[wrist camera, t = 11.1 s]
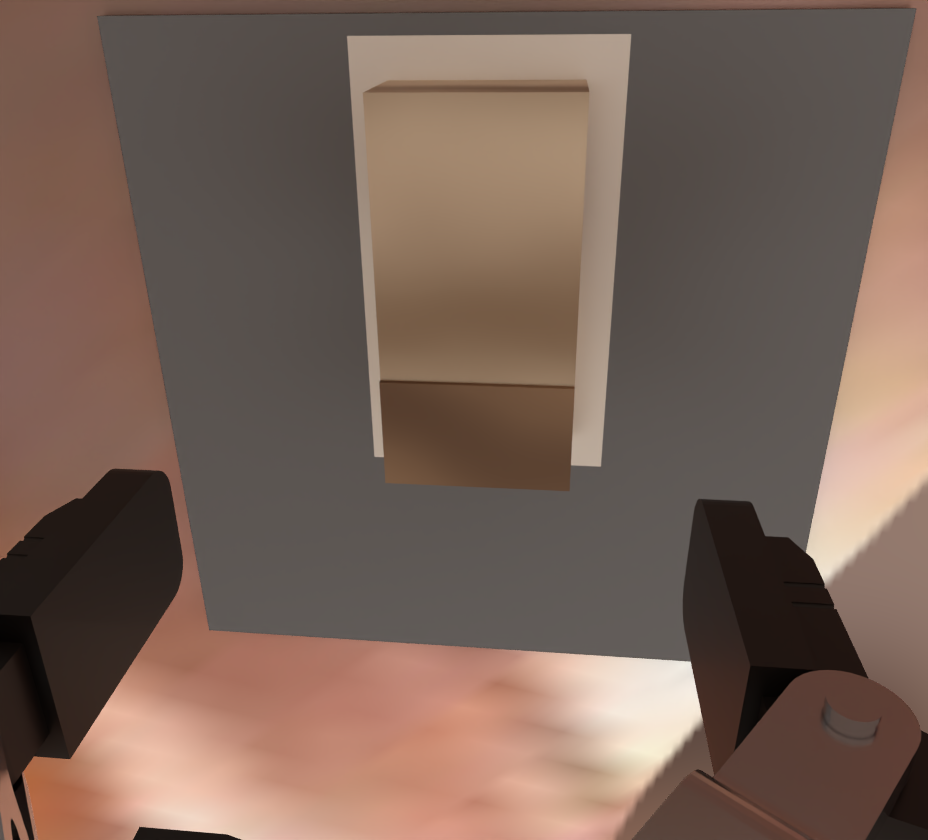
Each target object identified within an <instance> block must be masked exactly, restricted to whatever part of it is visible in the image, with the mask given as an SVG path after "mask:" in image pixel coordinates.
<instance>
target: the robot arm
mask: <svg viewBox="0 0 928 840" xmlns="http://www.w3.org/2000/svg"><path fill="white" fill-rule="evenodd" d="M182 570H183V556H182V550H181V544H180V538H179V532H178V526H177V521H176V515H175V509H174V503H173V498H172V492H171V486H170V482H169V479H168V477H167V476H166V474H165V473H164V472H162V471H152V470H132V469H112V470H110V471H109V472H107V473H106V474H105V475H104V477H103V478H102V479H101V480H100V481H99V482H98V483H97V484H96V485H95V486H94V487H93V488H92V489H91V490H90V491H89V492H88V493H87V494H86V495H85V496H84V497H83V498H82V499H78V498H76V499H74V500H72V501H71V502H69V503H67V504H65V505H63V506H62V507H60V508H58V509H56V510H55V511H53V512H51V513H49V514H47V515H46V516H44V517H43V518H42V519H41V520H40V521H39V522H38V523H37V524H36V525H35V526H34V527H33V528H32V529H31V530H30V531H29V532H28V533H27V534H26V535H25V536H24V541H19V542H18V543H17V544H16V545H15V546H14V547H13V548H12V549H11V550H10V551H9V552H8V553H7V558H2V559H1V560H0V840H38V836H37V831H36V826H35V821H34V816H33V811H32V805H31V800H30V795H29V790H28V786H27V783H26V779H25V776H24V773H23V771H24V770H25V768H26V767H27V765H28V764H29V762H30V761H31V760H32V758H33V757H34V756H37V757H49V758H62V759H70V758H71V757H72V755H73V754H74V752H75V751H76V749H77V748H78V746H79V745H80V743H81V741H82V740H83V738H84V737H85V735H86V734H87V732H88V731H89V729H90V727H91V726H92V724H93V723H94V721H95V720H96V718H97V717H98V715H99V714H100V712H101V710H102V709H103V707H104V706H105V704H106V703H107V701H108V700H109V698H110V696H111V695H112V693H113V692H114V690H115V689H116V687H117V686H118V684H119V682H120V681H121V679H122V678H123V676H124V675H125V673H126V672H127V670H128V669H129V667H130V665H131V664H132V662H133V661H134V659H135V658H136V656H137V655H138V653H139V651H140V650H141V648H142V647H143V645H144V644H145V642H146V641H147V639H148V637H149V636H150V634H151V633H152V631H153V630H154V628H155V627H156V625H157V624H158V622H159V620H160V619H161V617H162V616H163V614H164V613H165V611H166V610H167V608H168V606H169V605H170V603H171V602H172V600H173V599H174V597H175V595H176V593H177V591H178V588H179V585H180V582H181V577H182ZM824 585H825V584H824V581H823V579H822V577H821V575H820V573H819V571H818V569H817V566H816V564H815V562H814V560H813V559H812V558H811V557H810V556H809V555H808V554H807V553H806V552H804V551H803V550H802V549H801V548H800V547H799V546H798V545H796V544H795V543H794V542H793V541H792V540H791V539H790V538H789V537H774V536H765V534H764V531H763V529H762V526H761V524H760V521H759V519H758V516H757V514H756V511H755V509H754V506H753V504H752V503H751V502H750V501H735V500H714V499H698V500H697V502H696V505H695V509H694V514H693V521H692V528H691V536H690V543H689V550H688V557H687V565H686V572H685V579H684V587H683V623H684V630H685V635H686V640H687V645H688V650H689V655H690V660H691V664H692V669H693V674H694V679H695V684H696V689H697V694H698V699H699V703H700V708H701V713H702V718H703V723H704V728H705V733H706V737H707V742H708V747H709V752H710V757H711V762H712V767H713V771H714V776H713V777H711V776H709V775H708V774H706V773H704V772H703V771H701V770H695V771H693V772H691V773H690V774H689V775H687V776H686V777H685V778H684V779H683V780H682V781H681V782H680V783H679V785H678V786H677V787H676V788H675V790H674V791H673V792H672V793H671V794H670V795H669V796H668V798H667V799H666V800H665V801H664V802H663V803H662V805H661V806H660V807H659V808H658V809H657V810H656V812H655V813H654V814H653V815H652V816H651V818H650V819H649V820H648V821H647V822H646V823H645V825H644V826H643V827H642V828H641V829H640V830H639V832H638V833H637V834H636V835H635V836H634V837H633V839H632V840H928V734H927V733H925V732H923V731H921V729H920V725H919V723H918V720H917V718H916V716H915V715H914V713H913V712H912V710H911V709H910V708H909V707H908V705H907V704H906V703H905V702H904V701H903V700H902V699H901V698H899V697H898V696H897V695H896V694H895V693H893V692H892V691H890V690H889V689H887V688H886V687H884V686H882V685H880V684H879V683H877V682H875V681H873V680H870V679H868V677H867V674H866V672H865V670H864V668H863V666H862V663H861V661H860V659H859V657H858V655H857V653H856V650H855V648H854V646H853V644H852V642H851V640H850V638H849V635H848V633H847V631H846V629H845V627H844V625H843V622H842V620H841V618H840V616H839V614H838V612H837V610H836V609H834V603H833V601H832V599H831V597H830V594H829V592H828V590H827V589H825V588H824ZM133 840H241V839H238V838H235V837H232V836H230V835H226V834H215V833H203V832H192V831H180V830H169V829H157V828H146V827H139V829H138V831H137V833H136V835H135V837H134V839H133Z"/></svg>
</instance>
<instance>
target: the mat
mask: <svg viewBox="0 0 928 840" xmlns="http://www.w3.org/2000/svg"><path fill="white" fill-rule="evenodd" d="M915 13H916V8H873V9H766V10H658V11H551V12H443V13H336V14H228V15H121V16H97V18H98V23H99V29H100V34H101V40H102V45H103V51H104V56H105V62H106V67H107V73H108V78H109V84H110V89H111V95H112V100H113V106H114V111H115V117H116V122H117V127H118V133H119V138H120V144H121V149H122V155H123V160H124V166H125V171H126V177H127V182H128V188H129V193H130V199H131V204H132V210H133V215H134V221H135V226H136V231H137V237H138V242H139V248H140V253H141V259H142V264H143V270H144V275H145V281H146V286H147V292H148V297H149V303H150V308H151V314H152V319H153V324H154V330H155V335H156V341H157V346H158V352H159V357H160V363H161V368H162V374H163V379H164V385H165V390H166V396H167V401H168V407H169V412H170V418H171V423H172V428H173V434H174V439H175V445H176V450H177V456H178V461H179V467H180V472H181V478H182V483H183V489H184V494H185V500H186V505H187V511H188V516H189V522H190V527H191V532H192V538H193V543H194V549H195V554H196V560H197V565H198V571H199V576H200V582H201V587H202V593H203V598H204V604H205V609H206V615H207V620H208V626H209V630H215V631H231V632H246V633H261V634H277V635H292V636H308V637H323V638H338V639H354V640H369V641H384V642H400V643H415V644H431V645H446V646H461V647H477V648H492V649H507V650H523V651H538V652H554V653H569V654H584V655H600V656H615V657H630V658H646V659H661V660H676V661H691V660H690V655H689V650H688V645H687V640H686V635H685V630H684V623H683V587H684V579H685V572H686V565H687V557H688V550H689V543H690V536H691V528H692V521H693V514H694V509H695V505H696V502H697V500H698V499H714V500H735V501H750V502H751V503H752V504H753V506H754V509H755V511H756V514H757V516H758V519H759V521H760V524H761V526H762V529H763V531H764V534H765V536H774V537H789V538H790V539H791V540H792V541H793V542H794V543H795V544H796V545H798V546H799V547H800V548H801V549H802V550H803V551H804V552H806V548H807V543H808V538H809V533H810V528H811V523H812V518H813V513H814V508H815V504H816V499H817V494H818V489H819V484H820V479H821V474H822V469H823V464H824V459H825V454H826V449H827V445H828V440H829V435H830V430H831V425H832V420H833V415H834V410H835V405H836V400H837V395H838V391H839V386H840V381H841V376H842V371H843V366H844V361H845V356H846V351H847V346H848V341H849V337H850V332H851V327H852V322H853V317H854V312H855V307H856V302H857V297H858V292H859V287H860V283H861V278H862V273H863V268H864V263H865V258H866V253H867V248H868V243H869V238H870V233H871V229H872V224H873V219H874V214H875V209H876V204H877V199H878V194H879V189H880V184H881V179H882V175H883V170H884V165H885V160H886V155H887V150H888V145H889V140H890V135H891V130H892V125H893V121H894V116H895V111H896V106H897V101H898V96H899V91H900V86H901V81H902V76H903V71H904V67H905V62H906V57H907V52H908V47H909V42H910V37H911V32H912V27H913V22H914V17H915ZM387 80H587V84H588V88H589V110H588V130H587V150H586V170H585V190H584V210H583V230H582V250H581V270H580V290H579V310H578V330H577V350H576V370H575V393H574V413H573V433H572V453H571V473H570V491H552V490H529V489H507V488H484V487H462V486H440V485H417V484H395V483H385V468H384V452H383V435H382V419H381V403H380V387H379V382H380V366H379V350H378V333H377V317H376V301H375V284H374V268H373V251H372V235H371V219H370V202H369V186H368V169H367V153H366V137H365V120H364V104H363V92H365V91H367V90H369V89H371V88H373V87H375V86H377V85H379V84H381V83H383V82H385V81H387Z"/></svg>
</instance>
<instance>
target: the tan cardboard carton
mask: <svg viewBox="0 0 928 840" xmlns="http://www.w3.org/2000/svg"><path fill="white" fill-rule="evenodd" d="M363 104H364V120H365V137H366V153H367V169H368V186H369V202H370V219H371V235H372V251H373V268H374V284H375V301H376V317H377V333H378V350H379V366H380V382H379V387H380V403H381V419H382V435H383V452H384V468H385V483H395V484H417V485H440V486H462V487H484V488H507V489H529V490H552V491H570V473H571V453H572V433H573V413H574V393H575V370H576V350H577V330H578V310H579V290H580V270H581V250H582V230H583V210H584V190H585V170H586V150H587V130H588V110H589V88H588V84H587V80H387V81H385V82H383V83H381V84H379V85H377V86H375V87H373V88H371V89H369V90H367V91H365V92H363Z"/></svg>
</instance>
